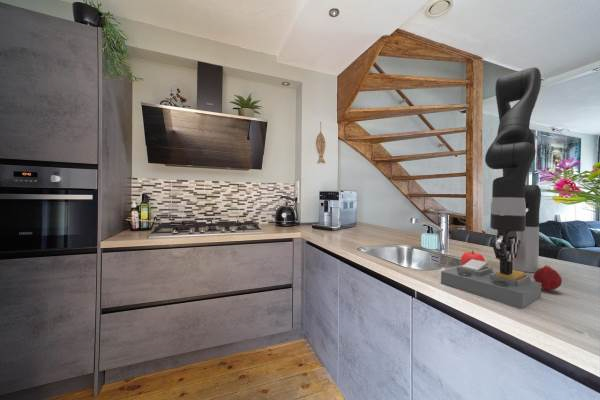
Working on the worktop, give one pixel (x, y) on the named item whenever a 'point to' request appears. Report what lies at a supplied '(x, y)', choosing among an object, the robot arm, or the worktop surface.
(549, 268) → the red rounded lump
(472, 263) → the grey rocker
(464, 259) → the apple
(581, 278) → the worktop surface
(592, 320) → the worktop surface
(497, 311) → the worktop surface
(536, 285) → the grey flat block
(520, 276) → the amber rocker
